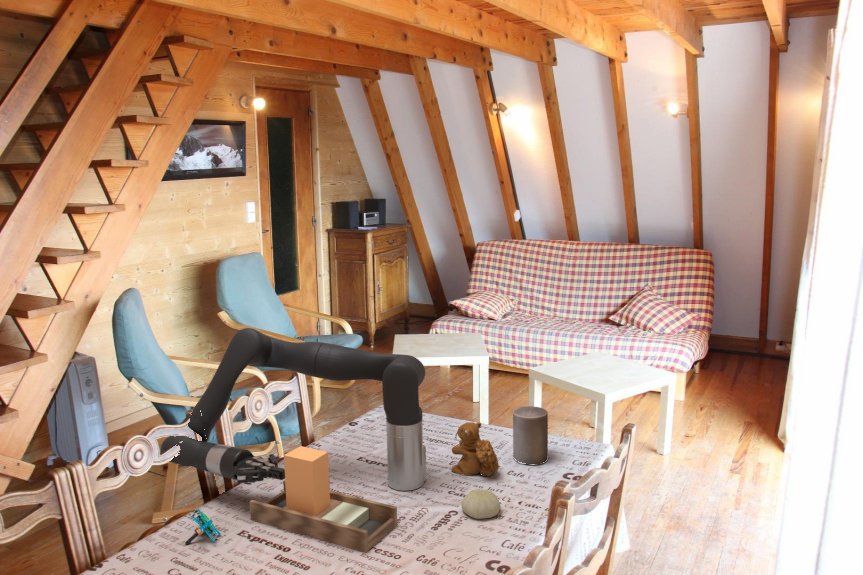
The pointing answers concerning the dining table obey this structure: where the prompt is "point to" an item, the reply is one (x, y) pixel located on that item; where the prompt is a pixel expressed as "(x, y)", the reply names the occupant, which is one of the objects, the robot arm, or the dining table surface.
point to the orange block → (307, 480)
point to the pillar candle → (530, 435)
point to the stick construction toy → (203, 527)
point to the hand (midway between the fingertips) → (284, 474)
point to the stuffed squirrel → (474, 452)
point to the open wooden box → (331, 519)
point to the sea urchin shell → (481, 504)
